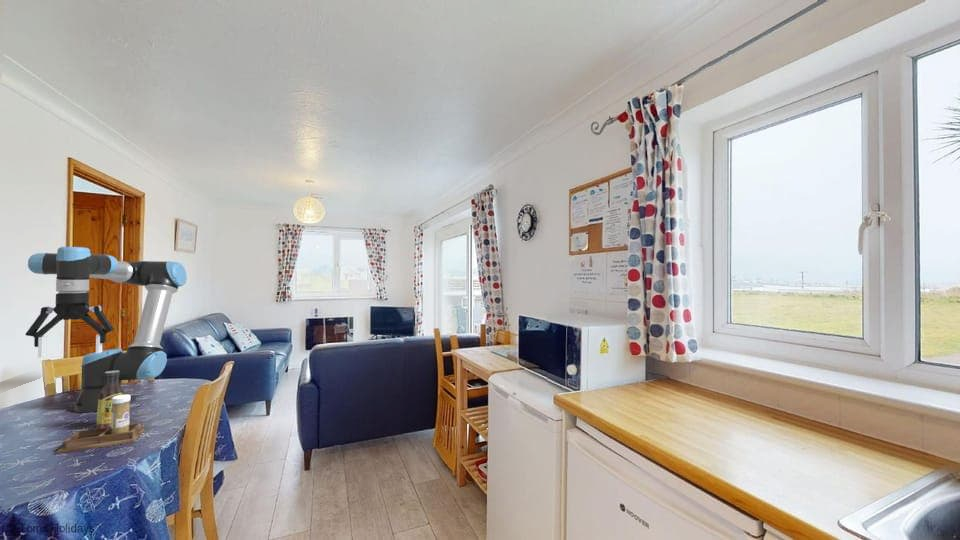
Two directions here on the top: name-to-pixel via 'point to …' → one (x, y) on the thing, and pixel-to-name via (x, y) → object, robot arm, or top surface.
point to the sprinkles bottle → (120, 414)
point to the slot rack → (100, 438)
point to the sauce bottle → (107, 398)
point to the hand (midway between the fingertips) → (71, 354)
